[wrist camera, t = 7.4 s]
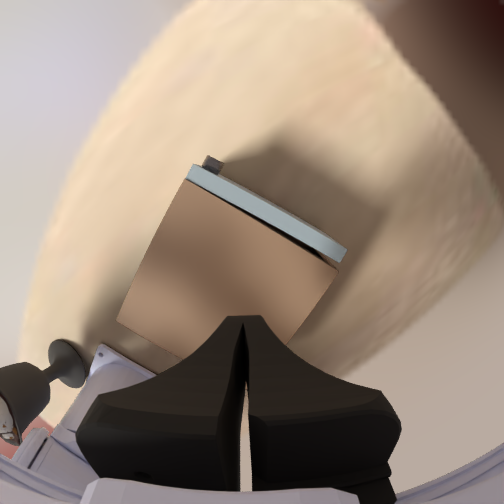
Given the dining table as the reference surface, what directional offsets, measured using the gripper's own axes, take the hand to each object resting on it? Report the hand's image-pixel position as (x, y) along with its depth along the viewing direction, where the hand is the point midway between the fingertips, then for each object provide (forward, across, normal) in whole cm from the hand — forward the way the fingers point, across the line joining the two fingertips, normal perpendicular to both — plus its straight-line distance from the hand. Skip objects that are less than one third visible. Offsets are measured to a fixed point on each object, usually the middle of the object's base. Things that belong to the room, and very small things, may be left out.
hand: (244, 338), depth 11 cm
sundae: (+9, +17, +9) cm, 21 cm away
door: (+9, -2, -4) cm, 10 cm away
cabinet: (+9, +1, 0) cm, 10 cm away
